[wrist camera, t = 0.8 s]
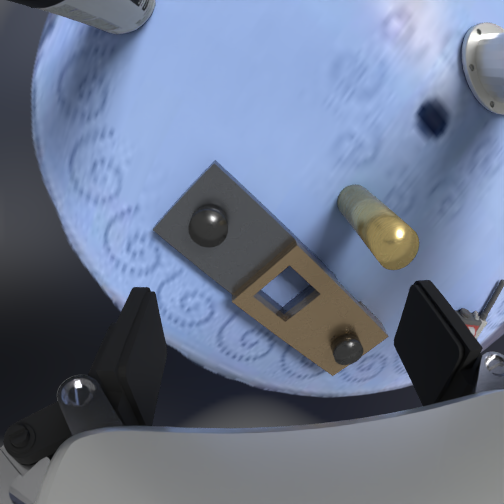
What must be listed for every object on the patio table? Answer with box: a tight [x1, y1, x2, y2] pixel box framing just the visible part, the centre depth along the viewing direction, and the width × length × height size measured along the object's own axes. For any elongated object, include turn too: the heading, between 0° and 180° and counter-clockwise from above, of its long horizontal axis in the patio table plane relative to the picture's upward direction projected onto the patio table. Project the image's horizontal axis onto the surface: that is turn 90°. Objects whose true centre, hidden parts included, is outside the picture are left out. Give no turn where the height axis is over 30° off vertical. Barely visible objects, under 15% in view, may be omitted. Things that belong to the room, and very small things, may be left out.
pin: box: [337, 185, 419, 270], centre depth 30 cm, size 4×4×12 cm
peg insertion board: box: [153, 160, 388, 376], centre depth 38 cm, size 10×32×5 cm, turn 45°
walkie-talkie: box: [455, 280, 504, 339], centre depth 44 cm, size 9×4×20 cm
